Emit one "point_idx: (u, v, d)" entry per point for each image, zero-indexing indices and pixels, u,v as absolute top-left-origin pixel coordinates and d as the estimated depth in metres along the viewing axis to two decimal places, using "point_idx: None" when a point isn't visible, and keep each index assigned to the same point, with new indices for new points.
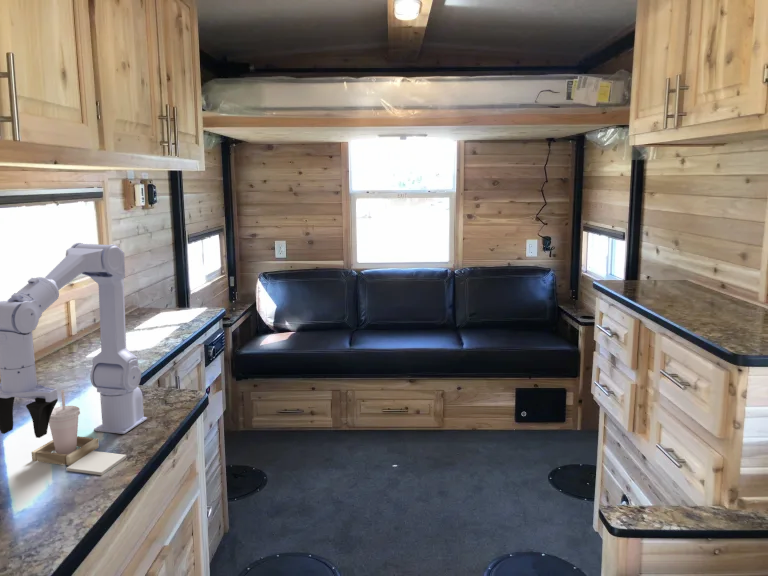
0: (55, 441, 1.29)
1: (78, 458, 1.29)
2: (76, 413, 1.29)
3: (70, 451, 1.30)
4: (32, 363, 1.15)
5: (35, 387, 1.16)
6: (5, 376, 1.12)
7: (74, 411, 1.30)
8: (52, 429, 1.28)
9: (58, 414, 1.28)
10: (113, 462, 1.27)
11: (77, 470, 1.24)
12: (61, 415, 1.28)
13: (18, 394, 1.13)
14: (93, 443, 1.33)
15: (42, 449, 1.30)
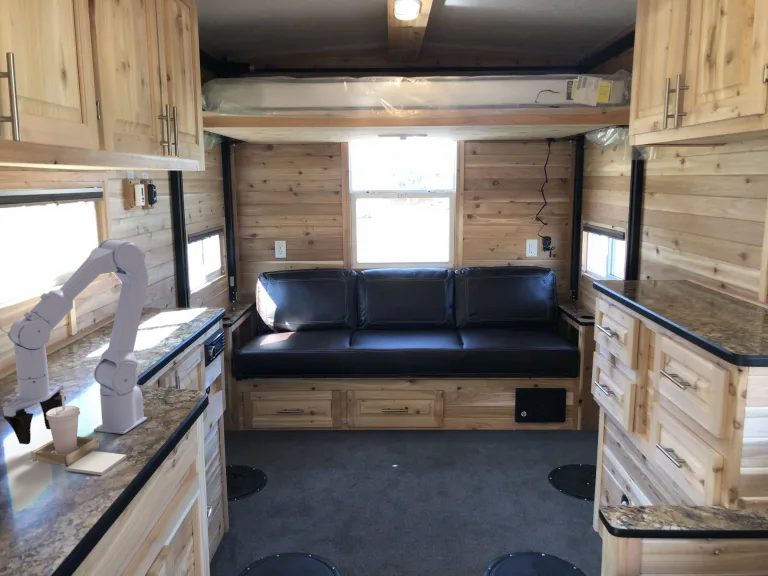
0: (55, 441, 1.29)
1: (78, 458, 1.29)
2: (76, 413, 1.29)
3: (70, 451, 1.30)
4: (40, 375, 1.28)
5: (27, 400, 1.28)
6: None
7: (74, 411, 1.30)
8: (52, 429, 1.28)
9: (58, 414, 1.28)
10: (113, 462, 1.27)
11: (77, 470, 1.24)
12: (61, 415, 1.28)
13: None
14: (93, 443, 1.33)
15: (42, 449, 1.30)
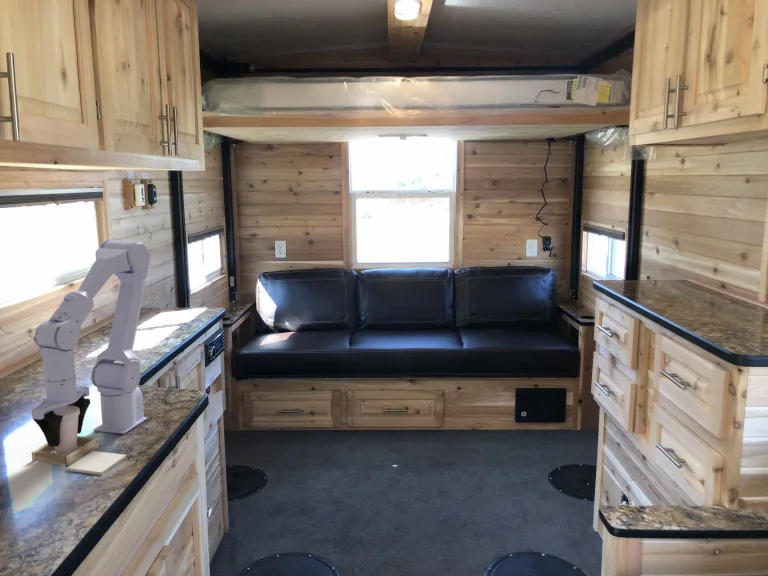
0: None
1: (78, 458, 1.29)
2: (76, 413, 1.29)
3: (70, 451, 1.30)
4: (72, 376, 1.28)
5: (54, 402, 1.26)
6: None
7: (74, 411, 1.30)
8: None
9: (58, 414, 1.28)
10: (113, 462, 1.27)
11: (77, 470, 1.24)
12: (61, 415, 1.28)
13: None
14: (93, 443, 1.33)
15: (42, 449, 1.30)
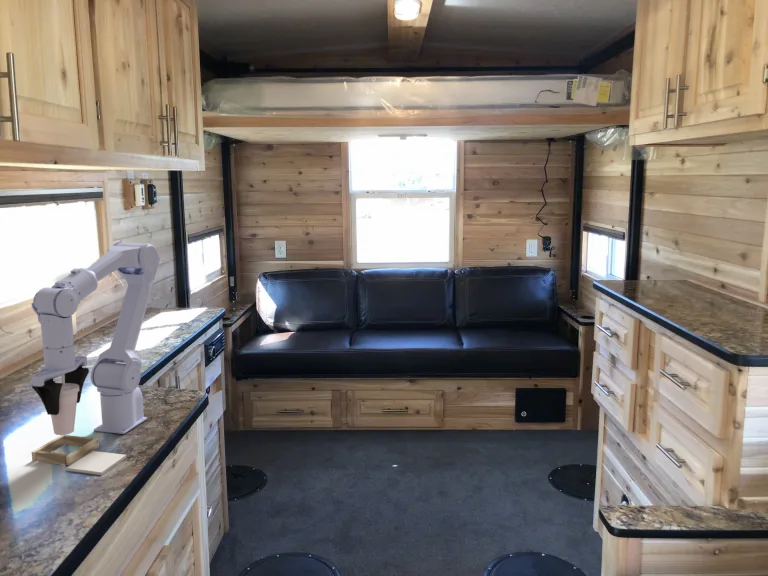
0: (53, 417, 1.27)
1: (78, 458, 1.29)
2: (76, 389, 1.28)
3: (68, 428, 1.29)
4: (71, 344, 1.27)
5: (54, 370, 1.25)
6: None
7: (74, 387, 1.29)
8: None
9: None
10: (113, 462, 1.27)
11: (77, 470, 1.24)
12: (61, 390, 1.26)
13: None
14: (93, 443, 1.33)
15: (42, 449, 1.30)
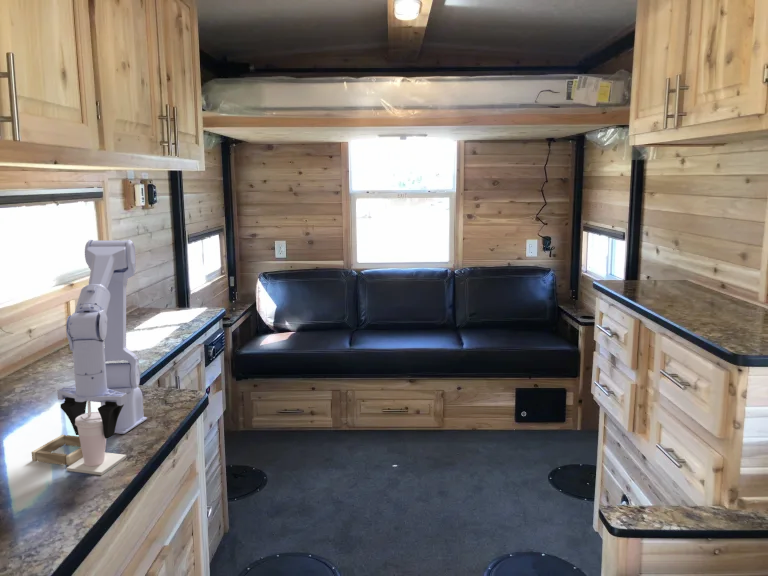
0: (100, 447, 1.25)
1: (78, 458, 1.29)
2: None
3: None
4: (105, 368, 1.25)
5: (106, 391, 1.24)
6: (80, 381, 1.21)
7: (98, 413, 1.27)
8: (100, 435, 1.24)
9: None
10: (113, 462, 1.27)
11: (77, 470, 1.24)
12: None
13: (92, 398, 1.22)
14: None
15: (42, 449, 1.30)
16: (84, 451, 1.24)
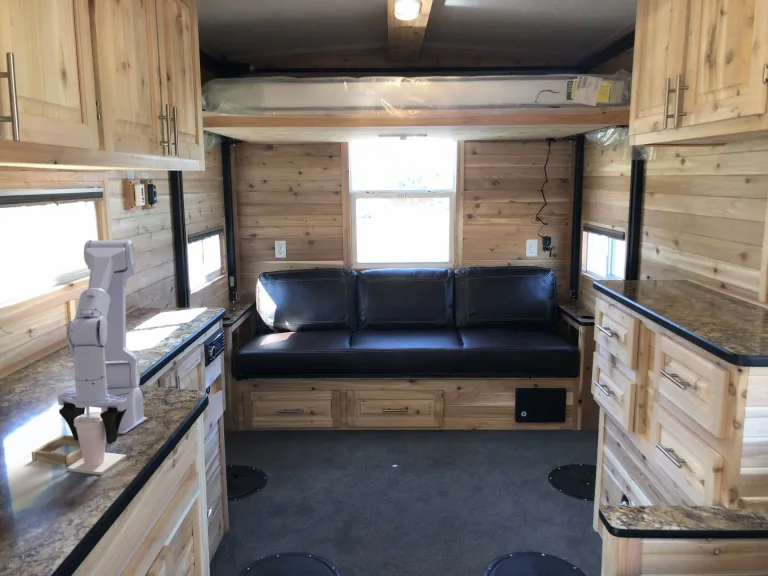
0: (100, 447, 1.25)
1: (78, 458, 1.29)
2: None
3: None
4: (106, 373, 1.25)
5: (106, 397, 1.25)
6: (81, 387, 1.21)
7: (97, 413, 1.27)
8: (99, 435, 1.24)
9: (100, 417, 1.25)
10: (113, 462, 1.27)
11: (77, 470, 1.24)
12: None
13: (92, 404, 1.22)
14: None
15: (42, 449, 1.30)
16: (84, 451, 1.24)
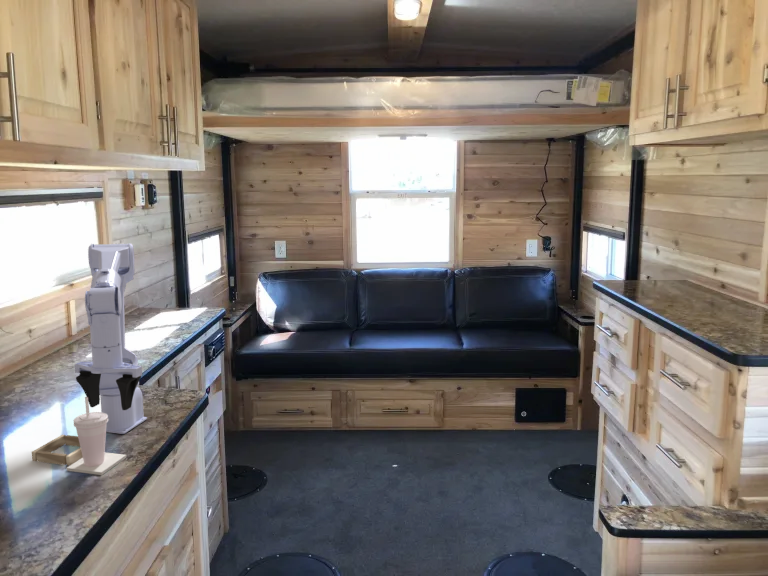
0: (100, 447, 1.25)
1: (78, 458, 1.29)
2: None
3: None
4: None
5: (122, 365, 1.29)
6: (97, 354, 1.26)
7: (97, 413, 1.27)
8: (99, 435, 1.24)
9: (100, 417, 1.25)
10: (113, 462, 1.27)
11: (77, 470, 1.24)
12: (103, 416, 1.26)
13: (108, 370, 1.26)
14: None
15: (42, 449, 1.30)
16: (84, 451, 1.24)
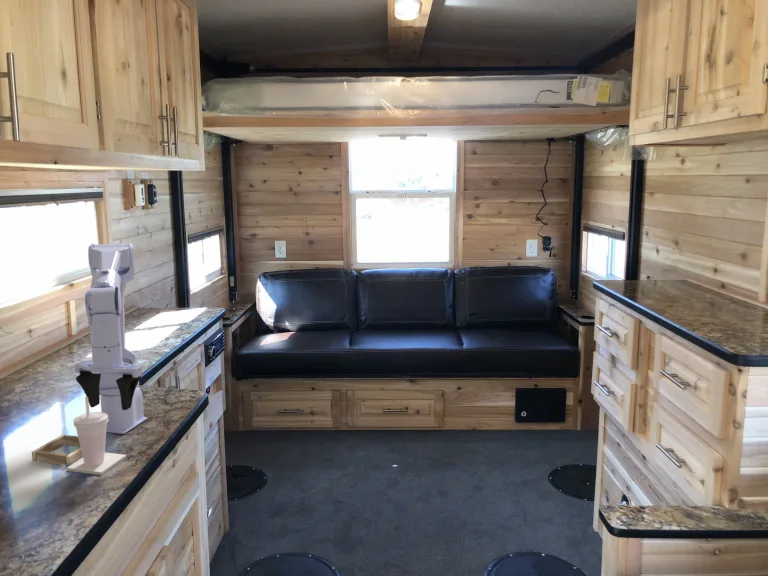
0: (100, 447, 1.25)
1: (78, 458, 1.29)
2: None
3: None
4: None
5: (122, 365, 1.29)
6: (97, 354, 1.26)
7: (97, 413, 1.27)
8: (99, 435, 1.24)
9: (100, 417, 1.25)
10: (113, 462, 1.27)
11: (77, 470, 1.24)
12: (103, 416, 1.26)
13: (108, 370, 1.26)
14: None
15: (42, 449, 1.30)
16: (84, 451, 1.24)
